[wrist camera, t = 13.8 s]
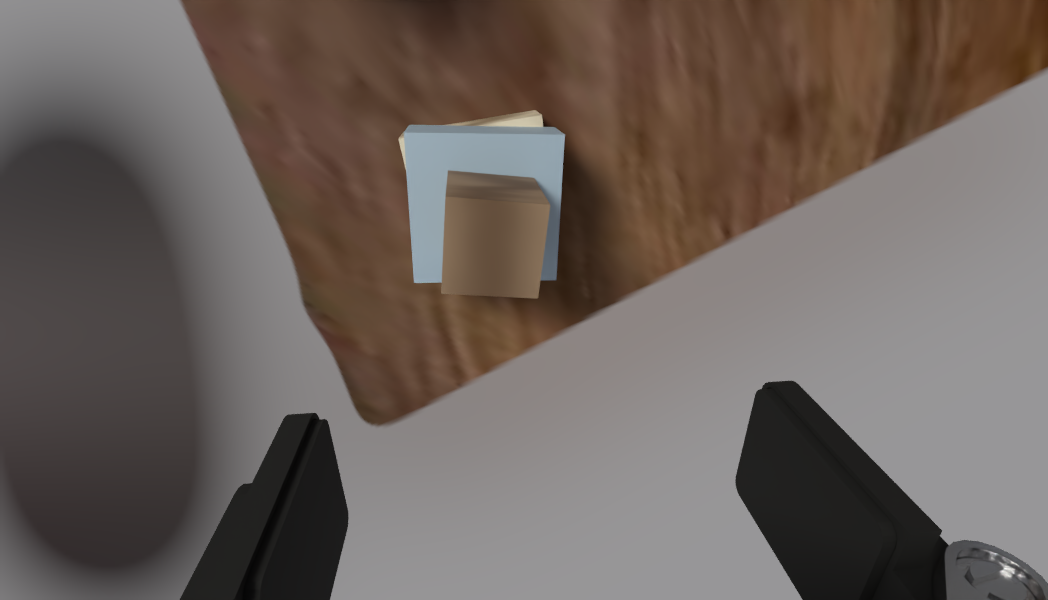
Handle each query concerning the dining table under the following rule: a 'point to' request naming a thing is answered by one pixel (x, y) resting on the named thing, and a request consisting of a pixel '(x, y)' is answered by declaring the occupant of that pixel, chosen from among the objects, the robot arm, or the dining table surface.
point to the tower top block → (477, 153)
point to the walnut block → (493, 235)
